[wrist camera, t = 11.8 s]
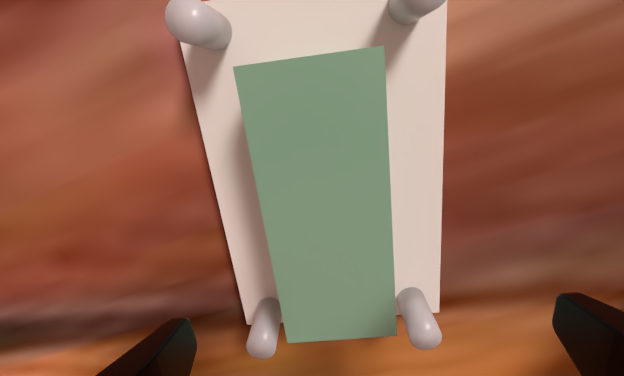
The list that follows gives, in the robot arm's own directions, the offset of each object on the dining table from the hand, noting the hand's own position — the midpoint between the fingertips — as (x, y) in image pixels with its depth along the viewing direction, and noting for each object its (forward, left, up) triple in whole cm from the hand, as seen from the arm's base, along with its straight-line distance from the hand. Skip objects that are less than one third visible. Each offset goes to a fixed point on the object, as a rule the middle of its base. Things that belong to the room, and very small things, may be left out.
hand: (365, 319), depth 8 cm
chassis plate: (+1, 0, -11) cm, 11 cm away
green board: (+1, 0, -9) cm, 9 cm away
